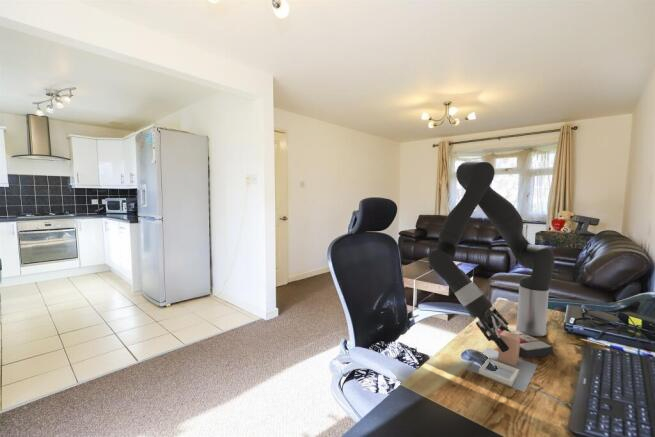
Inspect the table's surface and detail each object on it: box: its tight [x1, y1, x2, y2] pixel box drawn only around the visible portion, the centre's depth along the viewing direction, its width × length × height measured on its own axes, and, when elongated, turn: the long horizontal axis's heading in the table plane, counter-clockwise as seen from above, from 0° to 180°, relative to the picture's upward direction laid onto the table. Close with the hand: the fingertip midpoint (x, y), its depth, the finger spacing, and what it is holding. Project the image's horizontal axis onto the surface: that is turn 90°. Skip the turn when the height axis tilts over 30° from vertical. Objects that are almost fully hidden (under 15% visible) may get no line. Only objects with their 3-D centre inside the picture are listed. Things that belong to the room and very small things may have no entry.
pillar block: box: [498, 330, 520, 366], centre depth 91 cm, size 4×4×8 cm
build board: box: [467, 347, 539, 393], centre depth 88 cm, size 18×14×2 cm
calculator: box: [494, 328, 554, 359], centre depth 102 cm, size 11×4×15 cm
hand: (510, 345), depth 91 cm, fingers open, 8 cm apart
